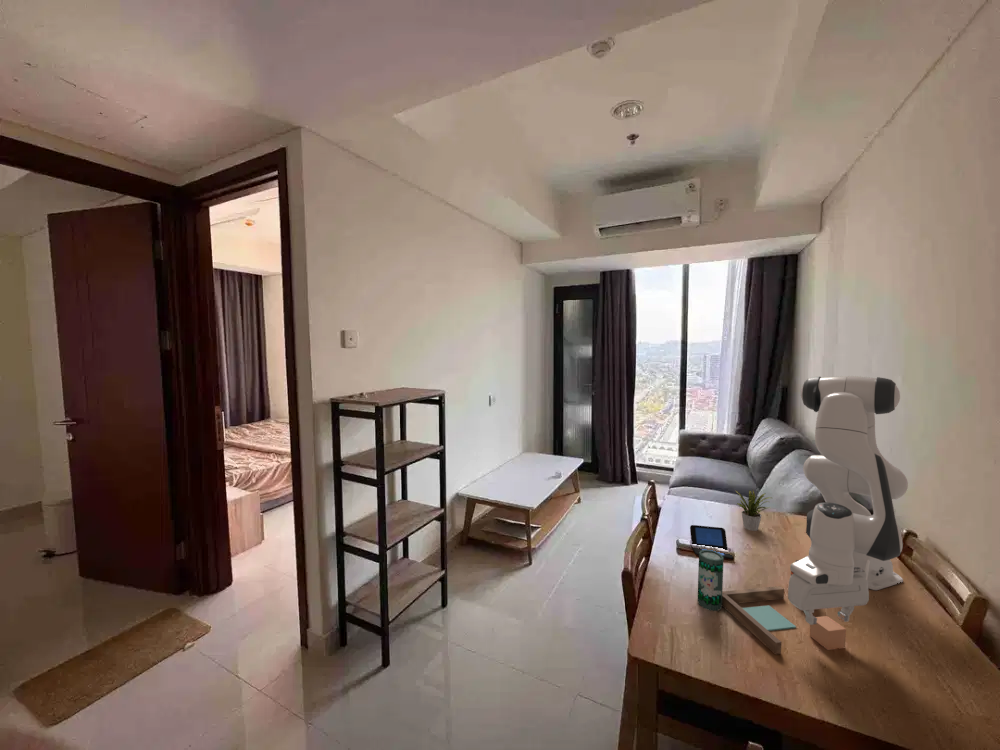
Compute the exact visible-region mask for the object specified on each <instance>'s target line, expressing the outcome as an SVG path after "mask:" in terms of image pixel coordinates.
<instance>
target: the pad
mask: <svg viewBox="0 0 1000 750" xmlns="http://www.w3.org/2000/svg"><path fill="white" fill-rule="evenodd" d="M742 608H743V609H744V610H745V611H746V612H747V613H748V614H749V615H751V616H752V617H753V618H754V619H755V620H756V621H758V622H759V623H760V624H761V625H762V626H763V627H765V628H766V629H767V630H768V631H769V632H771V631H772V632H773V631H779V630H790V629H796V628H797V626H796V625H795V624H794V623H792V622H791V621H790V620H789V619H787V618H786V617H785V616H783V614H781V613H780V612H778V611H777V610H776V609H774V608H773V607H772V606H771V605H769V604H768V605H760V606H759V605H758V606H749V607H742Z"/></svg>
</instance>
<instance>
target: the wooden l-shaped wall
mask: <svg viewBox="0 0 1000 750" xmlns="http://www.w3.org/2000/svg"><path fill="white" fill-rule="evenodd" d="M784 596H785V588H783V587H782V586H781V585H778V586H776V585H775V586H768V587H767V586H766V587H765V586H764V587H756V588H746V589H745V588H744V589H735V590H724V591H723V590H722V607H723V608H724V609H725V610H726V611H727V612H728V613H730V614H731V615H732V616H733V617H734V618H735V619H737V620H738V622H739V623H740V624H742V625H743V626H744V627H745V628H746V629H747V630H748V631H749V632H750V633H751V634H752V635H753V636H755V638H757V639H758V640H759V641H760V642H762V644H764V645H765V646H766V647H767V648H768V649H769V650H770V651H771V652H772V653H773V654H775V655H781V654H782V641H781V640H780V639H778V638H777V637H776V636H775V635H774V634H772V633H771V631H768V630H767V629H766V628H765V627H763V626H762V625H761V624H760V623H759V622H758V621H756V620H755V619H754V618H753V617H752V616H751V615H749V614H748V613H747V612H746V611H745V610H744V609H743V608H744V607H742V606H740V605H739V604H741V603H744V604H745V603H750V602H751V603H753V602H763V601H772V600H774V601H775V600H782V599H783V600H784V598H785V597H784Z"/></svg>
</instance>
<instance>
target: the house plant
mask: <svg viewBox="0 0 1000 750" xmlns="http://www.w3.org/2000/svg"><path fill="white" fill-rule="evenodd" d="M735 492H736V493H737V494H738V496H739V498H741V499H740V500H739V501H740V503H739V502H738V503H736V505H738V507H741V508H742V509H743V510H742V511H741V518H742V525H743V529H745V530H748V531H752V532H757V531H759V528H760V523H761V519H762V514H760V512H762V511H764V510H767V509H770V506H769V507H767V506H762V505H763V504H765V503H769V501H765V500H767V499H772V497H765V495H766V492H765V493H762V494H761V495H760V496H759V497H757V496H756V494H755V491H754V490H748V499H747V500H748V502H747V501H746V500H745V499H746V498H744V496H743V495H742V494H741V493H740V492H738V491H737V490H735ZM763 497H764V498H763ZM756 498H757V499H756ZM763 501H764V502H763ZM760 503H761V504H760Z"/></svg>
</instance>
